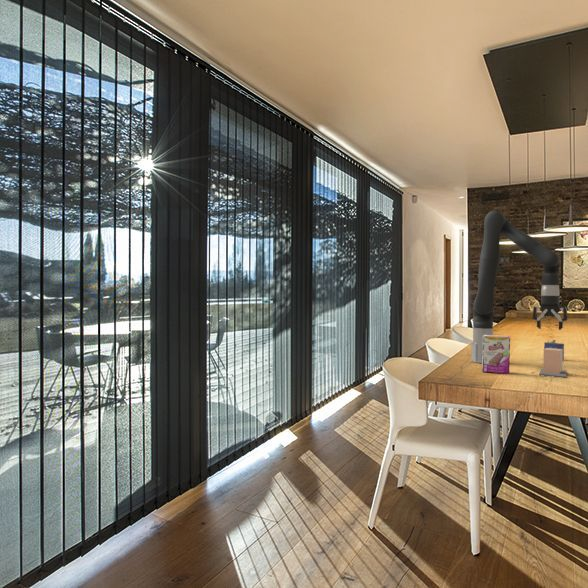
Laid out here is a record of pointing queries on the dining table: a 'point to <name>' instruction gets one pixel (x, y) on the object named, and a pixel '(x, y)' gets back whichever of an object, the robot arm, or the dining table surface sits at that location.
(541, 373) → the rubber mat
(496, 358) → the candy bar box
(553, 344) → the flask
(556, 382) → the dining table surface
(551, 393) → the dining table surface
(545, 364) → the pinkish tan block
